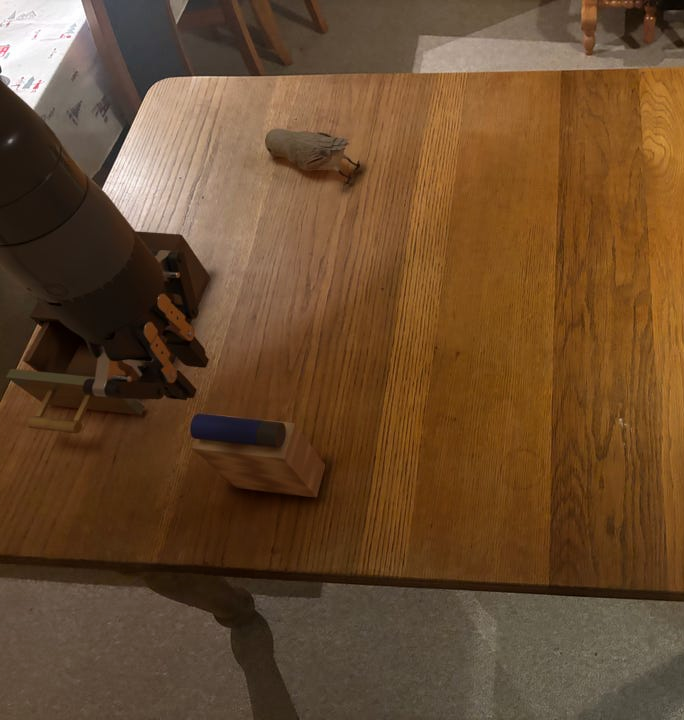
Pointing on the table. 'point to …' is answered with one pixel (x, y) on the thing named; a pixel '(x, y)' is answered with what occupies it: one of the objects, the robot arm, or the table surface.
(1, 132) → the robot arm
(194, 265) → the cabinet
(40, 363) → the drawer
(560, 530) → the table surface
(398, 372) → the table surface
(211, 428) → the blue cylinder
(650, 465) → the table surface
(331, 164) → the decorative bird
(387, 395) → the table surface
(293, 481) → the wooden block
